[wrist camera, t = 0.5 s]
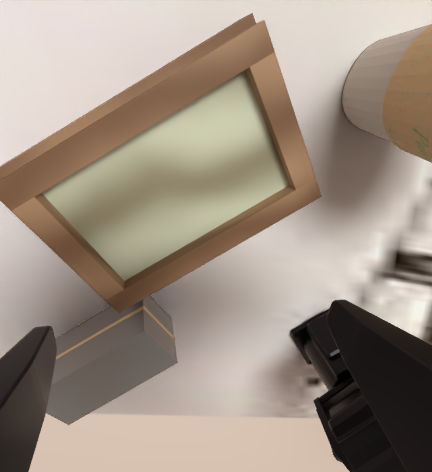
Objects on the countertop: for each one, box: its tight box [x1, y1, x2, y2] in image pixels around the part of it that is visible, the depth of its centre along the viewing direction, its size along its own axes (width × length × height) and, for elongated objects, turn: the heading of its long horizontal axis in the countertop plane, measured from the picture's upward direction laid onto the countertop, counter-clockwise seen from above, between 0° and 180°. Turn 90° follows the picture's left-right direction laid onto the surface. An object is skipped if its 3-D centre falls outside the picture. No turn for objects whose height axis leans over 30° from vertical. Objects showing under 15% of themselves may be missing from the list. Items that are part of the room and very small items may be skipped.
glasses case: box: [46, 296, 177, 425], centre depth 24 cm, size 4×10×5 cm, turn 118°
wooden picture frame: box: [0, 13, 321, 313], centre depth 19 cm, size 12×16×3 cm
